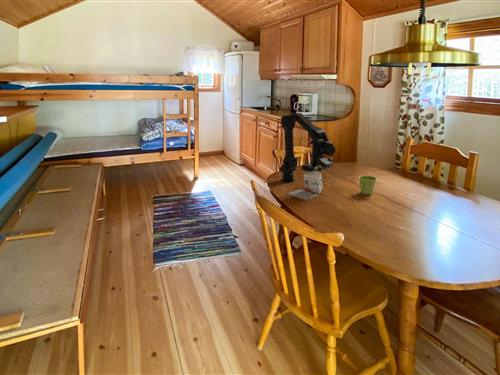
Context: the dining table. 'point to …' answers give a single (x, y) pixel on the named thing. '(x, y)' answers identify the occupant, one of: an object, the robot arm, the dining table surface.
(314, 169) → the robot arm
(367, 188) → the plant pot
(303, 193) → the mat
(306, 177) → the ink box
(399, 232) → the dining table surface
